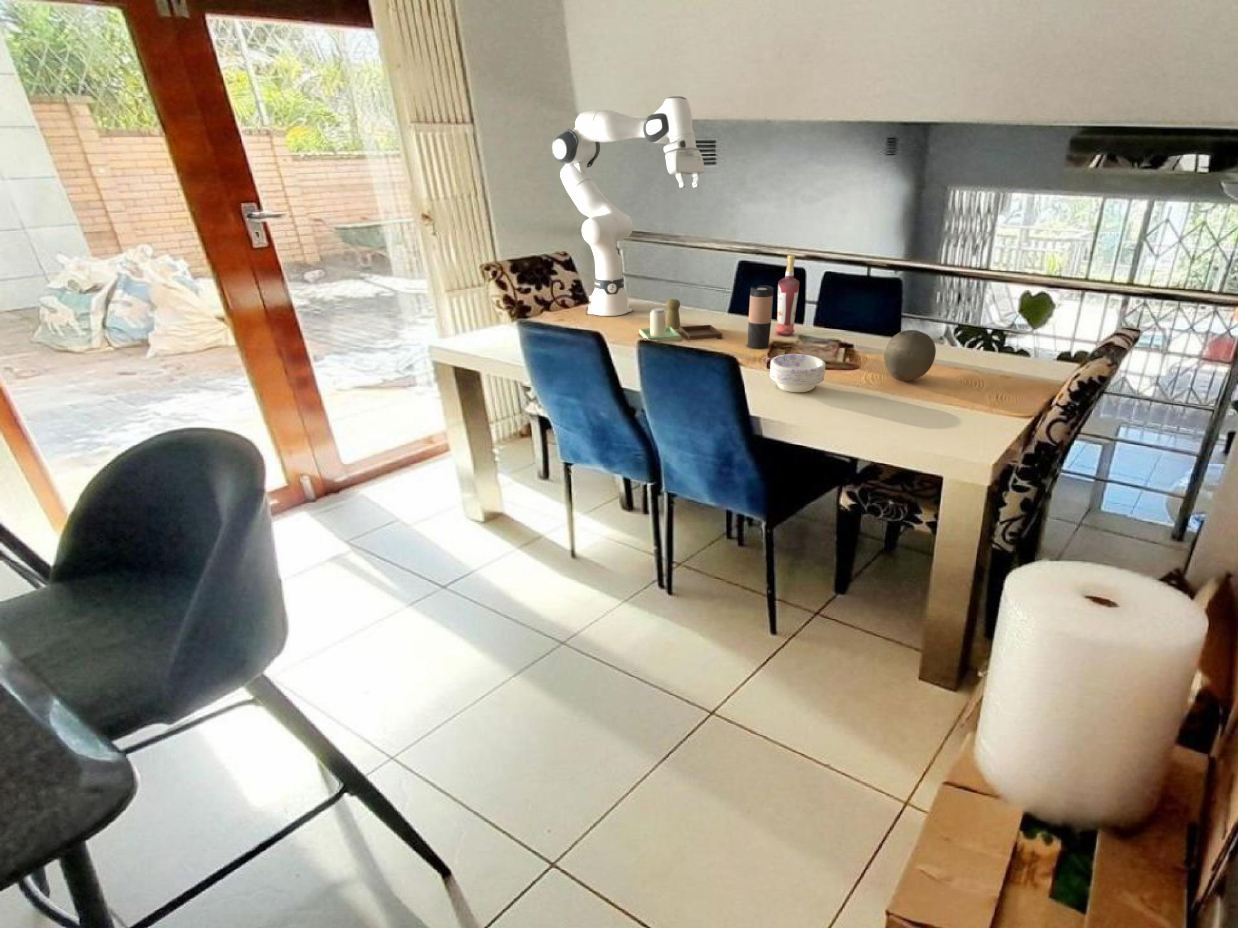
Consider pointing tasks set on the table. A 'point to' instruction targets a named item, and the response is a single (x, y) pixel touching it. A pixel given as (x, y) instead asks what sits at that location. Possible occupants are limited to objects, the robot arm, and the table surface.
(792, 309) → the liquor
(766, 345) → the travel mug
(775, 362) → the paper bowls
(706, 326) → the dark tray
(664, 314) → the salt shaker
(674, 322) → the olive pawn figurine
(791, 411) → the table surface
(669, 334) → the pale tray
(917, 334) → the cantaloupe
